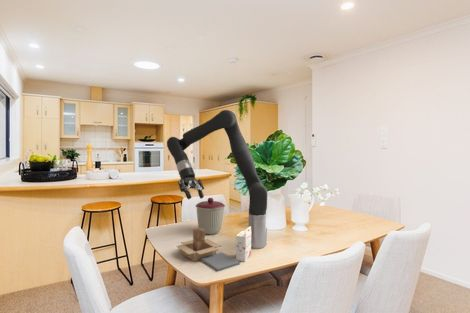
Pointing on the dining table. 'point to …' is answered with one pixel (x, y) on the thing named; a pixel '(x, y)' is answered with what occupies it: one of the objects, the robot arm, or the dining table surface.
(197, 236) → the walnut block
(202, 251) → the carton
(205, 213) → the canister
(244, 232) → the ink cartridge box
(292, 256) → the dining table surface
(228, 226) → the dining table surface
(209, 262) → the mat
